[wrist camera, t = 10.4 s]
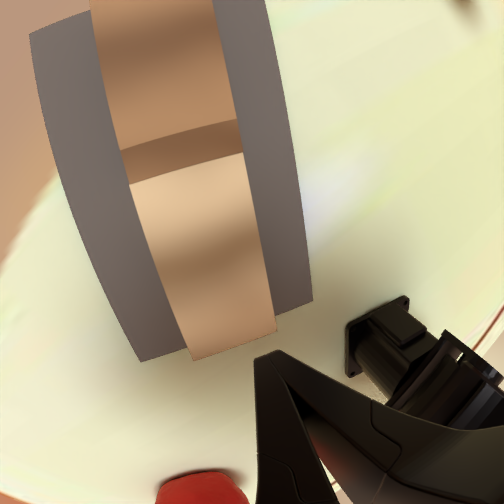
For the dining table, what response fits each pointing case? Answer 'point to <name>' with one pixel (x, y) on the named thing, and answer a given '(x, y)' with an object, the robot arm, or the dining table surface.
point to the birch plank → (208, 253)
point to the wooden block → (165, 83)
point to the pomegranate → (201, 490)
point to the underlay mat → (117, 184)
